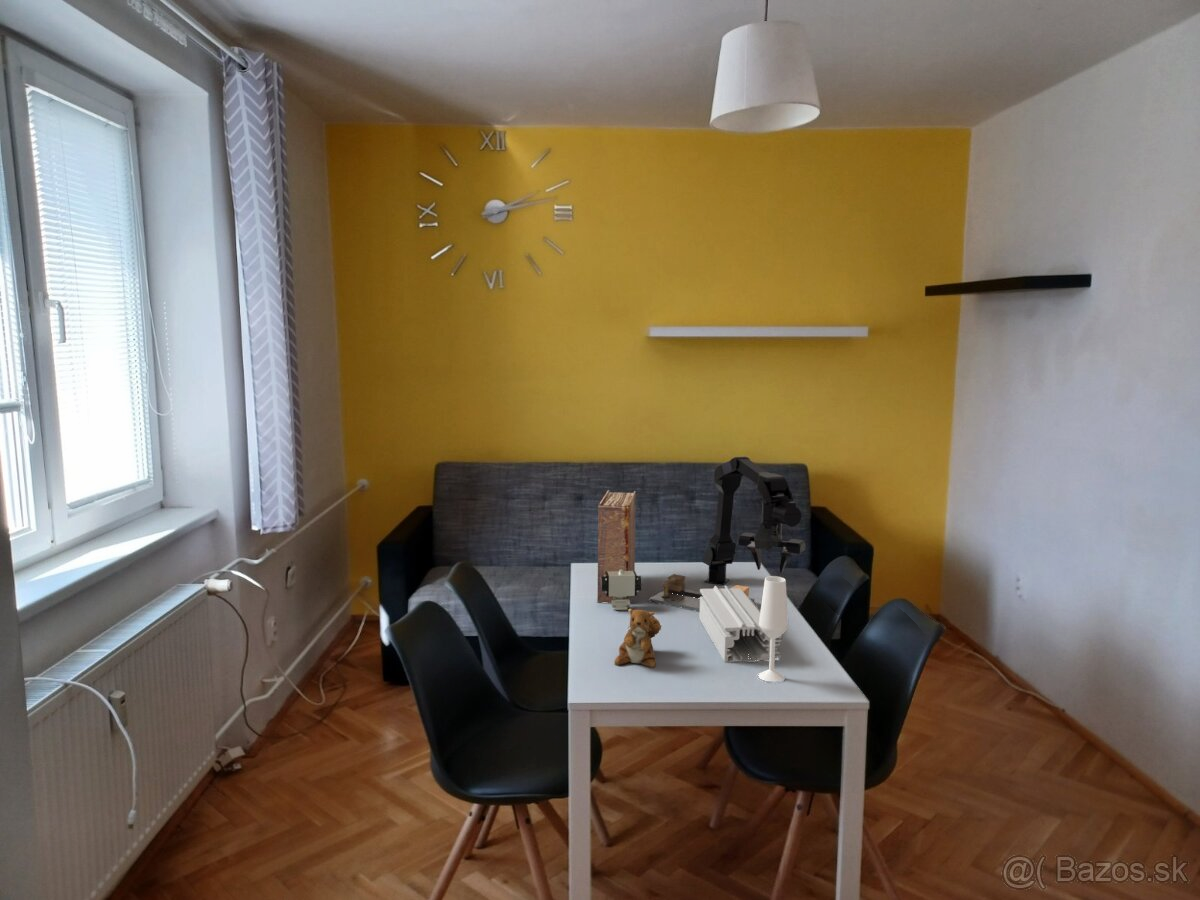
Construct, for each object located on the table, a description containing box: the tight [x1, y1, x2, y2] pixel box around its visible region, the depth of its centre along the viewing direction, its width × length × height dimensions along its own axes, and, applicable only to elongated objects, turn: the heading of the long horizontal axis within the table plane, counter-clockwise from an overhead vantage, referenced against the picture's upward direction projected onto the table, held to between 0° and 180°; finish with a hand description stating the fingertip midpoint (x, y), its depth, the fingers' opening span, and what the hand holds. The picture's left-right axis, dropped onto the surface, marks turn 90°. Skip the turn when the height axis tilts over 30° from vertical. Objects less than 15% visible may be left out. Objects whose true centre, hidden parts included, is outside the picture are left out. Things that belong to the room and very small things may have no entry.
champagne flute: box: [757, 575, 789, 682], centre depth 185 cm, size 7×7×24 cm
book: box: [597, 489, 637, 604], centre depth 249 cm, size 25×9×30 cm, turn 173°
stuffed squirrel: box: [613, 608, 662, 668], centre depth 197 cm, size 10×14×13 cm
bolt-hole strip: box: [649, 591, 700, 612], centre depth 238 cm, size 8×24×1 cm, turn 59°
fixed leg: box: [661, 573, 686, 596], centre depth 245 cm, size 11×4×4 cm, turn 149°
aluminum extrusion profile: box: [698, 585, 782, 663], centre depth 211 cm, size 14×31×10 cm, turn 5°
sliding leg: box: [732, 584, 750, 598], centre depth 234 cm, size 11×4×4 cm, turn 149°
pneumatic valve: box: [600, 569, 643, 611], centre depth 233 cm, size 6×12×12 cm, turn 95°
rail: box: [668, 588, 755, 603], centre depth 243 cm, size 3×28×2 cm, turn 59°
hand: (769, 571), depth 231 cm, fingers open, 6 cm apart
